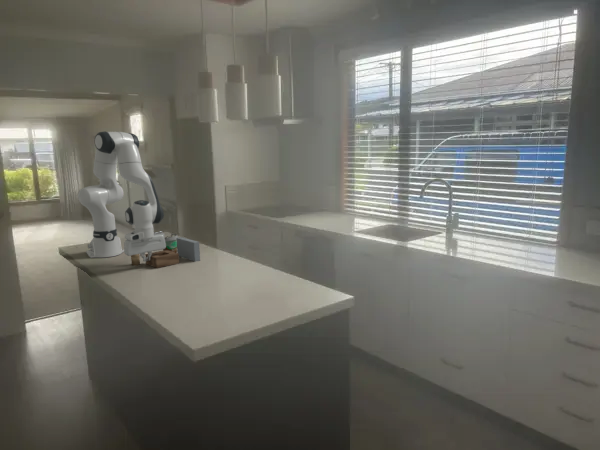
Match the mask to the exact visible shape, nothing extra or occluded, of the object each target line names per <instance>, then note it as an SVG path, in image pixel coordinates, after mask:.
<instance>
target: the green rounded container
mask: <svg viewBox="0 0 600 450" xmlns="http://www.w3.org/2000/svg"><path fill="white" fill-rule="evenodd" d="M177 238H179V235H178V234H177V233H171V235H167V236H165V238H164V239H165V243H166V248H165V249H162V251H164V250H169V251H172V252H175V253H177Z"/></svg>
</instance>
